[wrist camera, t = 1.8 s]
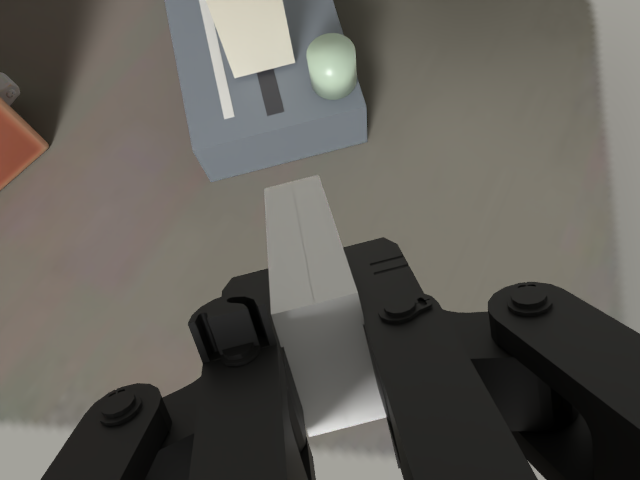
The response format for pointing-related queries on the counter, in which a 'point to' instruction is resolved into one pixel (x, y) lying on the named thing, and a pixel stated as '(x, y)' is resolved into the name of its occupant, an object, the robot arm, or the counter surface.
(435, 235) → the counter surface
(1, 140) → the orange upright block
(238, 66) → the cream rectangular block
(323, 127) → the switch console
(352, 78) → the push button
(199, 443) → the robot arm
